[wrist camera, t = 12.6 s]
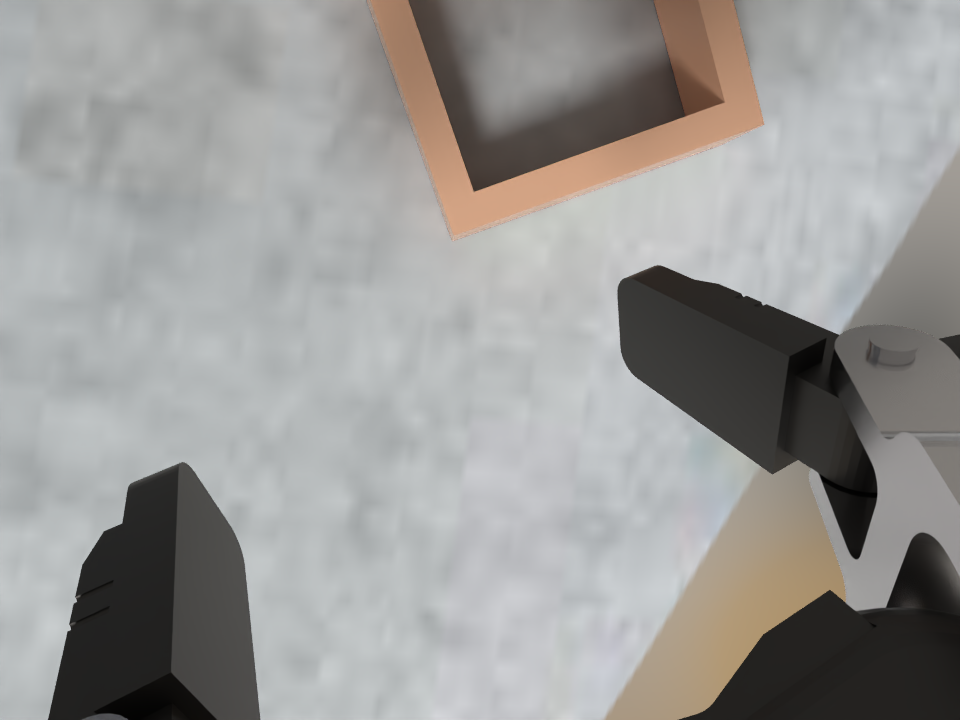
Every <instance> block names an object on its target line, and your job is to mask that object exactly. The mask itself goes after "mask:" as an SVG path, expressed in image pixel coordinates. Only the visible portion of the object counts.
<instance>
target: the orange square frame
mask: <svg viewBox="0 0 960 720" xmlns="http://www.w3.org/2000/svg"><path fill="white" fill-rule="evenodd" d="M367 3H368V6H369V9H370V12H371V14H372V17H373V20H374V23H375V26H376V28H377V31H378V34H379V37H380V40H381V43H382V45H383V48H384V51H385V54H386V57H387V59H388V62H389V65H390V68H391V71H392V74H393V76H394V79H395V82H396V85H397V88H398V90H399V93H400V96H401V99H402V102H403V104H404V107H405V110H406V113H407V116H408V119H409V121H410V124H411V127H412V130H413V133H414V135H415V138H416V141H417V144H418V147H419V150H420V152H421V155H422V158H423V161H424V164H425V166H426V169H427V172H428V175H429V178H430V181H431V183H432V186H433V189H434V192H435V195H436V197H437V200H438V203H439V206H440V209H441V212H442V214H443V217H444V220H445V223H446V226H447V228H448V231H449V234H450V237H451V240H452V241H455V240H457V239H460V238H463V237H466V236H469V235H471V234H474V233H477V232H480V231H483V230H485V229H488V228H491V227H494V226H497V225H499V224H502V223H505V222H508V221H511V220H513V219H516V218H519V217H522V216H524V215H527V214H530V213H533V212H536V211H538V210H541V209H544V208H547V207H550V206H552V205H555V204H558V203H561V202H564V201H566V200H569V199H572V198H575V197H578V196H580V195H583V194H586V193H589V192H591V191H594V190H597V189H600V188H603V187H605V186H608V185H611V184H614V183H617V182H619V181H622V180H625V179H628V178H631V177H633V176H636V175H639V174H642V173H644V172H647V171H650V170H653V169H656V168H658V167H661V166H664V165H667V164H670V163H672V162H675V161H678V160H681V159H684V158H686V157H689V156H692V155H695V154H698V153H700V152H703V151H706V150H709V149H711V148H714V147H717V146H720V145H723V144H725V143H727V142H729V141H731V140H733V139H735V138H737V137H739V136H741V135H744V134H746V133H748V132H750V131H752V130H754V129H756V128H758V127H760V126H762V125H764V121H763V117H762V113H761V109H760V105H759V101H758V97H757V93H756V89H755V85H754V81H753V77H752V73H751V69H750V65H749V61H748V57H747V53H746V49H745V45H744V41H743V37H742V33H741V29H740V25H739V21H738V17H737V13H736V9H735V5H734V1H733V0H654V3H655V7H656V11H657V14H658V18H659V22H660V25H661V29H662V33H663V36H664V40H665V44H666V47H667V51H668V55H669V58H670V62H671V66H672V69H673V73H674V77H675V80H676V84H677V88H678V91H679V95H680V99H681V102H682V106H683V110H684V113H685V117H683V118H680V119H677V120H674V121H671V122H669V123H666V124H663V125H660V126H657V127H655V128H652V129H649V130H646V131H643V132H641V133H638V134H635V135H632V136H629V137H627V138H624V139H621V140H618V141H615V142H613V143H610V144H607V145H604V146H601V147H598V148H596V149H593V150H590V151H587V152H584V153H582V154H579V155H576V156H573V157H570V158H568V159H565V160H562V161H559V162H556V163H554V164H551V165H548V166H545V167H542V168H540V169H537V170H534V171H531V172H528V173H526V174H523V175H520V176H517V177H514V178H512V179H509V180H506V181H503V182H500V183H498V184H495V185H492V186H489V187H486V188H484V189H481V190H478V191H475V192H474V191H473V188H472V185H471V182H470V179H469V176H468V173H467V170H466V168H465V165H464V162H463V159H462V156H461V153H460V150H459V147H458V144H457V141H456V138H455V135H454V133H453V130H452V127H451V124H450V121H449V118H448V115H447V112H446V109H445V106H444V103H443V100H442V98H441V95H440V92H439V89H438V86H437V83H436V80H435V77H434V74H433V71H432V68H431V65H430V63H429V60H428V57H427V54H426V51H425V48H424V45H423V42H422V39H421V36H420V33H419V31H418V28H417V25H416V22H415V19H414V16H413V13H412V10H411V7H410V4H409V1H408V0H367Z"/></svg>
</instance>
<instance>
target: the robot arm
mask: <svg viewBox="0 0 960 720" xmlns="http://www.w3.org/2000/svg"><path fill="white" fill-rule="evenodd" d="M618 311H619V328H620V345H621V353H622V356H623V359H624V361H625V364H626V365H627V367H628V369H629V370H630V371H631V373H632V374H633V375H634V376H635V377H637V378H638V379H639V380H641V381H642V382H643V383H645V384H646V385H648V386H649V387H650V388H652V389H653V390H655V391H656V392H657V393H659V394H660V395H662V396H663V397H664V398H666V399H667V400H669V401H670V402H671V403H673V404H674V405H676V406H677V407H679V408H680V409H681V410H683V411H684V412H686V413H687V414H688V415H690V416H691V417H693V418H694V419H695V420H697V421H698V422H700V423H701V424H702V425H704V426H705V427H707V428H708V429H709V430H711V431H712V432H714V433H715V434H716V435H718V436H719V437H721V438H722V439H723V440H725V441H726V442H728V443H729V444H730V445H732V446H733V447H735V448H736V449H737V450H739V451H740V452H742V453H743V454H744V455H746V456H747V457H749V458H750V459H751V460H753V461H754V462H756V463H757V464H759V465H760V466H761V467H763V468H764V469H766V470H767V471H768V472H770V473H771V474H774V473H776V472H777V471H779V470H781V469H783V468H784V467H786V466H788V465H790V464H791V463H793V462H795V461H797V460H800V461H801V462H802V463H804V464H806V465H807V466H809V467H810V472H809V481H810V485H811V488H812V491H813V493H814V496H815V499H816V501H817V504H818V507H819V510H820V513H821V516H822V518H823V521H824V524H825V527H826V529H827V532H828V535H829V538H830V541H831V543H832V546H833V549H834V552H835V554H836V557H837V560H838V563H839V566H840V568H841V571H842V574H843V578H844V583H845V588H846V589H845V590H846V603H845V602H844V601H843V600H842V599H840V598H839V597H838V596H837V595H836V594H834V593H833V592H832V591H831V590H829V591H828V592H826V593H825V594H823V595H822V596H820V597H819V598H817V599H816V600H814V601H813V602H811V603H810V604H808V605H807V606H805V607H804V608H802V609H801V610H799V611H798V612H796V613H795V614H793V615H792V616H790V617H789V618H787V619H786V620H785V621H783V622H781V623H780V624H779V625H777V626H775V627H774V628H772V629H771V630H769V631H768V632H767V633H765V634H763V636H762V637H761V638H760V640H759V641H758V642H757V644H756V645H755V647H754V648H753V649H752V651H751V652H750V653H749V655H748V656H747V658H746V659H745V660H744V662H743V663H742V664H741V666H740V667H739V669H738V670H737V671H736V673H735V674H734V675H733V677H732V678H731V680H730V681H729V682H728V684H727V685H726V686H725V688H724V689H723V690H722V692H721V693H720V695H719V696H718V697H717V699H716V700H715V702H714V703H713V704H712V705H711V706H710V707H709V708H708V709H706V710H705V711H703V712H701V713H699V714H696V715H692V716H689V717H686V718H682V719H679V720H960V335H955V336H950V337H946V338H940V339H938V338H935V337H933V336H932V335H929V334H927V333H924V332H922V331H918V330H915V329H911V328H907V327H901V326H894V325H867V326H860V327H856V328H853V329H849V330H847V331H845V332H843V333H842V334H841V335H838V334H836V333H833V332H831V331H828V330H826V329H824V328H821V327H819V326H817V325H814V324H812V323H810V322H807V321H805V320H802V319H800V318H798V317H795V316H793V315H791V314H788V313H786V312H784V311H781V310H779V309H776V308H774V307H772V306H769V305H767V304H766V305H764V306H763V305H762V303H761V302H760V301H757V300H755V299H753V298H750V297H748V296H745V297H743V296H742V294H741V293H739V292H736V291H734V290H731V289H729V288H727V287H724V286H722V285H720V284H716V283H710V282H704V281H699V280H694V279H691V278H689V277H687V276H684V275H682V274H680V273H677V272H675V271H673V270H671V269H668V268H666V267H664V266H659V265H657V266H653V267H651V268H649V269H646V270H644V271H641V272H639V273H636V274H634V275H632V276H629V277H627V278H624V279H623V280H621V282H620V283H619V286H618ZM75 597H76V599H77V602H76V603H74V605H73V610H72V614H71V619H70V623H69V625H70V627H71V630H70V631H68V632H67V637H66V641H65V646H64V650H63V655H62V659H61V664H60V668H59V673H58V677H57V682H56V686H55V691H54V695H53V700H52V704H51V709H50V714H49V718H48V720H260V712H259V702H258V692H257V682H256V673H255V663H254V653H253V643H252V633H251V623H250V613H249V603H248V593H247V583H246V573H245V564H244V558H243V554H242V551H241V548H240V545H239V542H238V540H237V538H236V535H235V533H234V531H233V530H232V528H231V526H230V525H229V523H228V522H227V520H226V519H225V517H224V516H223V514H222V513H221V511H220V510H219V508H218V507H217V505H216V504H215V502H214V501H213V499H212V498H211V496H210V495H209V493H208V492H207V490H206V489H205V487H204V486H203V484H202V483H201V481H200V480H199V478H198V477H197V475H196V474H195V472H194V471H193V469H192V468H191V467H190V466H189V465H188V464H186V463H184V462H182V463H179V464H177V465H174V466H172V467H169V468H167V469H165V470H162V471H160V472H157V473H155V474H153V475H150V476H148V477H145V478H143V479H140V480H138V481H136V482H133V483H131V484H130V485H129V487H128V491H127V497H126V504H125V510H124V517H123V523H122V524H120V525H118V526H116V527H113V528H111V529H109V530H106V531H104V532H103V534H102V535H101V537H100V539H99V540H98V542H97V543H96V545H95V546H94V548H93V549H92V551H91V552H90V554H89V556H88V557H87V559H86V560H85V562H84V563H83V565H82V569H81V574H80V578H79V583H78V587H77V592H76V596H75Z"/></svg>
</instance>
